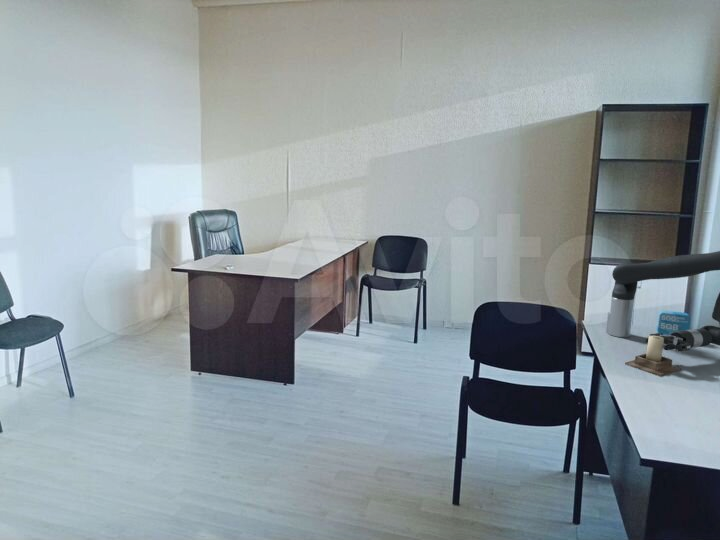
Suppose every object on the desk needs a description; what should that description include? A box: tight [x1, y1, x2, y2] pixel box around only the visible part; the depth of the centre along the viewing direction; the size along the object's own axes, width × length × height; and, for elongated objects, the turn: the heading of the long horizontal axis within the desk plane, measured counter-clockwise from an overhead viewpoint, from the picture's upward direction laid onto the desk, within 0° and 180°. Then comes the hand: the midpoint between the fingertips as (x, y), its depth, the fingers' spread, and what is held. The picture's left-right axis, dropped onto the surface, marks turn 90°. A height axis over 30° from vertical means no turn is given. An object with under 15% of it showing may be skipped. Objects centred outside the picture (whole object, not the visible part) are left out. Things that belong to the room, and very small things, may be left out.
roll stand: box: [624, 353, 682, 377], centre depth 215 cm, size 14×14×4 cm
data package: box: [655, 310, 691, 336], centre depth 249 cm, size 12×4×12 cm, turn 66°
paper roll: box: [645, 335, 664, 363], centre depth 214 cm, size 5×5×11 cm
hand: (655, 343), depth 213 cm, fingers open, 8 cm apart
